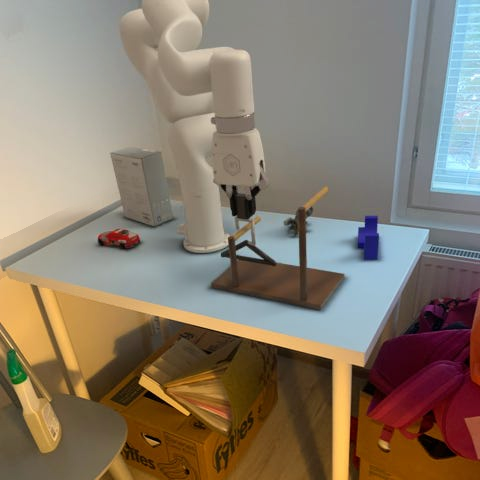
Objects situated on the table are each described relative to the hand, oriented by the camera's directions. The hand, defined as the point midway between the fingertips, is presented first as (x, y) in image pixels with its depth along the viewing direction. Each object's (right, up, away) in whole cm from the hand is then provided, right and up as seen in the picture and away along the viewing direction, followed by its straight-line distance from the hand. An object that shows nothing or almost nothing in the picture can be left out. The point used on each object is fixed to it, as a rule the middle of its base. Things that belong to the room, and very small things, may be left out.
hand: (243, 214), depth 104 cm
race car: (-34, -1, +32) cm, 47 cm away
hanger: (+1, -9, +6) cm, 11 cm away
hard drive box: (-29, +9, +46) cm, 55 cm away
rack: (+8, -14, +5) cm, 17 cm away
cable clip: (+30, -5, +15) cm, 34 cm away
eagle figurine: (+15, +1, +28) cm, 32 cm away
